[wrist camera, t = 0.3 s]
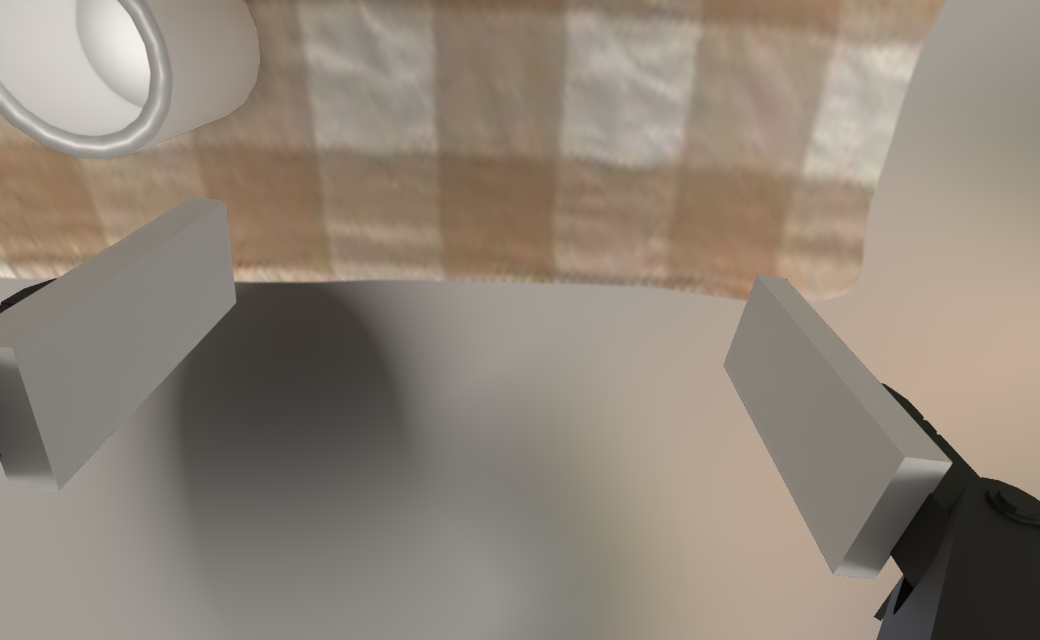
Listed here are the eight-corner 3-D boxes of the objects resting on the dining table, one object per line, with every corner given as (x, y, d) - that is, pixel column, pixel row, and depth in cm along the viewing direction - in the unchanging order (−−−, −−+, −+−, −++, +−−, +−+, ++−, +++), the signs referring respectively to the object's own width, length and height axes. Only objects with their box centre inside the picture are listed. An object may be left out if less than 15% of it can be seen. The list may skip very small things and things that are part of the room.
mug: (12, -19, 36) (-169, -24, 27) (101, -156, 33) (-70, -218, 23) (199, 152, 41) (102, 199, 31) (293, 48, 37) (215, 64, 28)
